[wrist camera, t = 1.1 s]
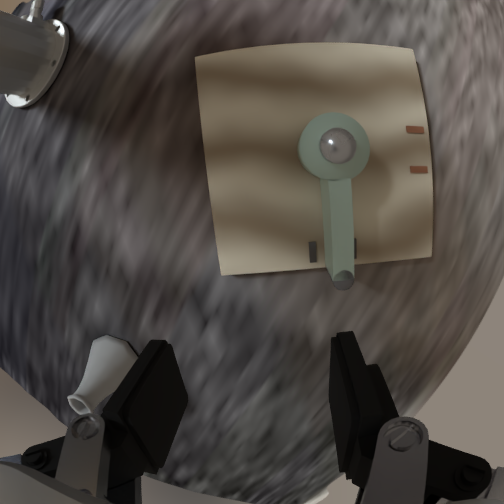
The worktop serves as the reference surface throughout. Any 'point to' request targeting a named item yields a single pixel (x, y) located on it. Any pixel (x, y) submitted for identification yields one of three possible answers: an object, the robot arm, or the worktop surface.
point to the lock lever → (336, 184)
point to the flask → (102, 373)
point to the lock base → (287, 161)
